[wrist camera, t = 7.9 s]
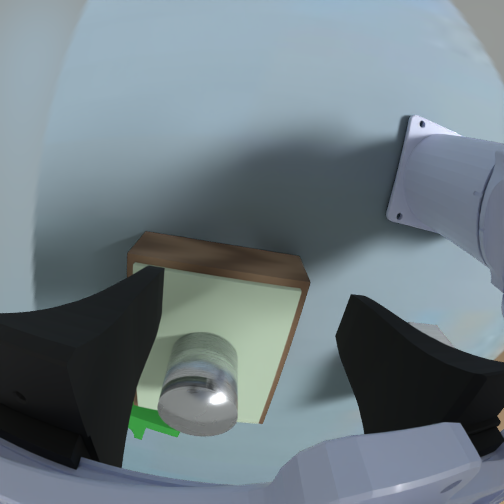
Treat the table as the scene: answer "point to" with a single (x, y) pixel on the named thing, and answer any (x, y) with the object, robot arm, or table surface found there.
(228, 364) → the grey metal cylinder
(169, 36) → the table surface
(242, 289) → the walnut stand
